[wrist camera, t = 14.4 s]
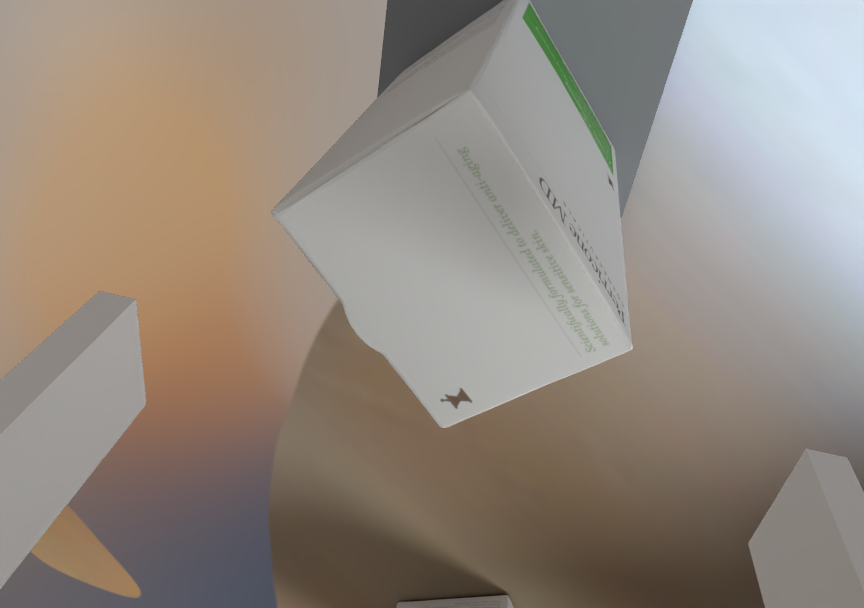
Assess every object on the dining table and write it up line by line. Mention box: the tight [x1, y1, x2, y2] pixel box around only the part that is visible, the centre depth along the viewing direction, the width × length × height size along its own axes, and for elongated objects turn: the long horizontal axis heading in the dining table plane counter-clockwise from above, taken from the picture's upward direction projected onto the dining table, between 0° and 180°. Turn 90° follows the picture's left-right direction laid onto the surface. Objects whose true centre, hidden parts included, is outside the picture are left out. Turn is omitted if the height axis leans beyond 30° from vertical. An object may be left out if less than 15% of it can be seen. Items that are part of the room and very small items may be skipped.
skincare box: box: [272, 0, 633, 428], centre depth 24 cm, size 8×7×16 cm
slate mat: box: [378, 0, 693, 217], centre depth 31 cm, size 12×12×1 cm
